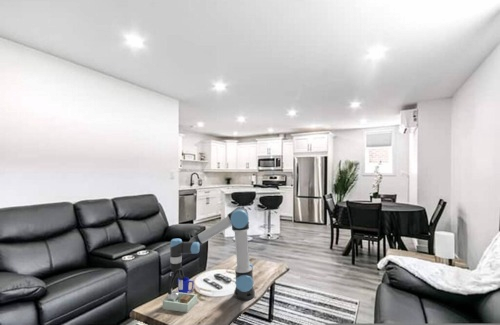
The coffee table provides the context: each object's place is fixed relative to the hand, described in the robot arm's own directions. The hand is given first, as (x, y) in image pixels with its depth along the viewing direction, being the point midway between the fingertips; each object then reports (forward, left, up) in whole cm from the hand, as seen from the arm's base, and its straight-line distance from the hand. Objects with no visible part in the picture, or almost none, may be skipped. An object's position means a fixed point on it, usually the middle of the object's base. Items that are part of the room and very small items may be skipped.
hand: (175, 293), depth 177 cm
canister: (0, 0, -6) cm, 6 cm away
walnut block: (-7, 0, -6) cm, 10 cm away
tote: (-4, 0, -7) cm, 8 cm away
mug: (+1, -17, -7) cm, 18 cm away
